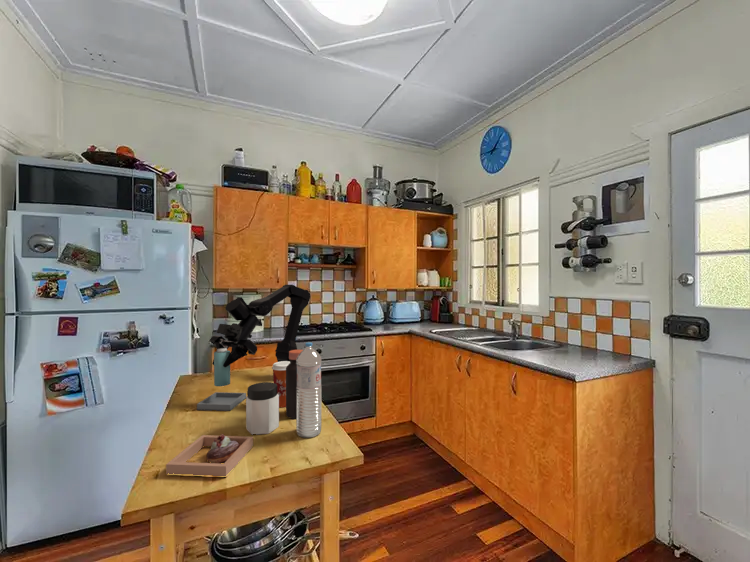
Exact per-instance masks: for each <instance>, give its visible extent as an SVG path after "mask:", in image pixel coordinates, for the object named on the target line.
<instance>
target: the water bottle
mask: <svg viewBox="0 0 750 562" xmlns="http://www.w3.org/2000/svg"><path fill="white" fill-rule="evenodd" d="M302 350H303V351H302V352H301V353H300V354H299V355H298V357H297V359H296V364H297V387H296V393H297V394H296V396H297V397H296V403H297V404H296V406H297V407H296V413H297V414H296V416H297V417H296V427H295V428H296V429H295V430H296V434H297V436H299V437H301V438H305V439H309V438H314V437H317V436H318V435H320V434H321V432H322V356H321V354H320V353H319V352H318V351H317V350H316V349H314V348H313V342H310V341H307V342H305V348H304V349H302Z"/></svg>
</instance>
